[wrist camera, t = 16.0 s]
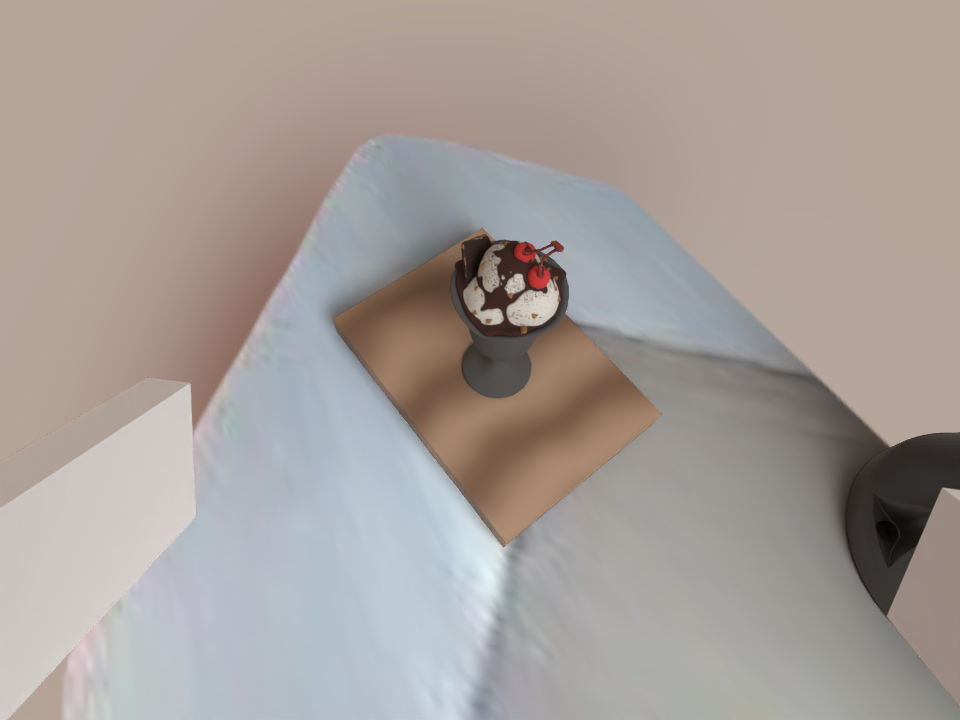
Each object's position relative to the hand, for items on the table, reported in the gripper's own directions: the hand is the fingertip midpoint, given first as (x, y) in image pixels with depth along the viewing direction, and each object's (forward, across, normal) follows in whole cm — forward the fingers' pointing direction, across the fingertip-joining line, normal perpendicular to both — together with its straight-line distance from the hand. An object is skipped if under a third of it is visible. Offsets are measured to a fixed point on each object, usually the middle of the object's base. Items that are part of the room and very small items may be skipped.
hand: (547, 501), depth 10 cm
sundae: (+30, -1, -8) cm, 31 cm away
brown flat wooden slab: (+32, -1, -10) cm, 33 cm away
